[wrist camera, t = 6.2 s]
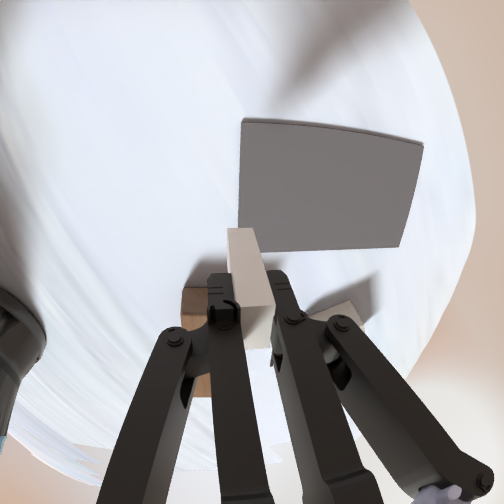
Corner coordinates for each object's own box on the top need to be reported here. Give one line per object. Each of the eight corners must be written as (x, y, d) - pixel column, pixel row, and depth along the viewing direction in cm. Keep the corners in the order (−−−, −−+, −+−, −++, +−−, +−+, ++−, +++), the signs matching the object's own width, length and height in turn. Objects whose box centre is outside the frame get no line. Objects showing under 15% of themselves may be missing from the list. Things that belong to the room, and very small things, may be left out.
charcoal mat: (237, 251, 29) (237, 253, 28) (241, 122, 22) (241, 122, 21) (396, 245, 31) (398, 247, 31) (421, 145, 25) (423, 146, 24)
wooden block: (269, 313, 28) (250, 396, 37) (261, 286, 32) (246, 373, 41) (180, 314, 26) (190, 398, 36) (182, 285, 30) (189, 373, 39)
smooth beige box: (306, 350, 40) (315, 376, 36) (294, 320, 36) (304, 349, 32) (353, 331, 40) (366, 355, 36) (349, 298, 35) (364, 324, 31)
